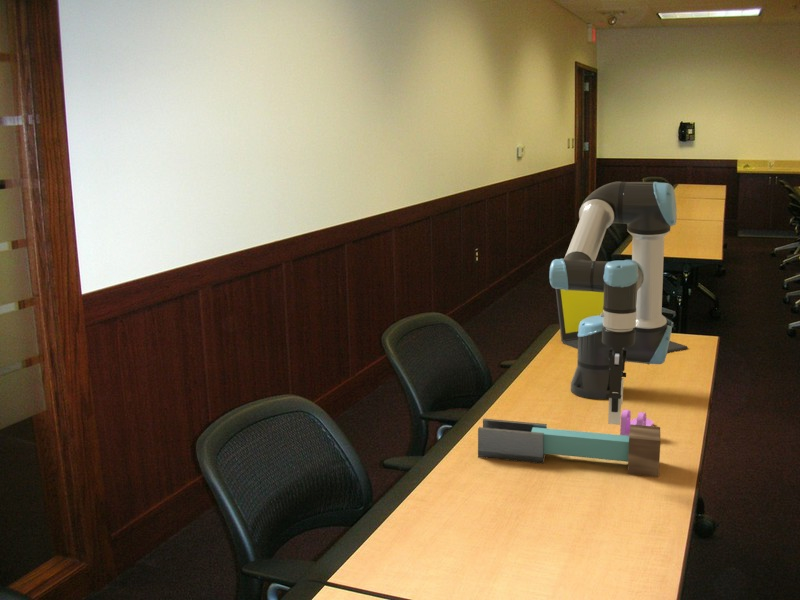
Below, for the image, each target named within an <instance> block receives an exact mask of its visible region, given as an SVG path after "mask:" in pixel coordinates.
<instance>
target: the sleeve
mask: <svg viewBox="0 0 800 600" xmlns="http://www.w3.org/2000/svg"><path fill="white" fill-rule="evenodd" d="M533 427H536V428H547V429H548V424H547V423H539V422H538V423H537V422H530V421H529V422H528V421H514V420H505V419H504V420H503V419H493V418H483V420H482V427H481V426H479V427H478V429H477V458H480V459H494V460H503V461H512V462H522V463H530V464H539V465H540V464H542V465H543V463H544V460H545V458H546V455H547V454H544V453H543V450H544V433H537V432H531V431H532V428H533Z"/></svg>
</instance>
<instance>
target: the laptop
mask: <svg viewBox="0 0 800 600" xmlns="http://www.w3.org/2000/svg"><path fill="white" fill-rule="evenodd" d="M555 294H556V295H555V297H556V304H557V313H558V322H559V331H560V337H561V338H560V339H561V343H562V345H563V344H564V345H566V346H568V347H572V348H574V349H577V350H578V330H579V323H580V322H581V321H582V320H583V319H585V318H588V317H592V316H598V315H600V314H601V313H603V303H604V292H593V291H575V290H563V289H555ZM688 347H689V346H687V345H685V344H681V343H678V342H674V341H671V340H670V341H669V346H668V351H667V354H670V352H671V353H675V352H674V351H676V352H681V351H686V350H688ZM685 349H686V350H685ZM680 350H681V351H680Z"/></svg>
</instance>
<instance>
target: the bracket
mask: <svg viewBox="0 0 800 600" xmlns="http://www.w3.org/2000/svg"><path fill="white" fill-rule="evenodd" d="M631 415H632V414H631V410H630V409H624V408H623V410H621V419H620V431H619V432H620V434H619V435H625V436H629V434H630V424H631V425H643V426H654V420H652V419H650V418H647V413H646V412H641V411H639V412H638V414H637V417H635V418H633V419H631Z"/></svg>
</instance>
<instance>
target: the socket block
mask: <svg viewBox="0 0 800 600" xmlns="http://www.w3.org/2000/svg"><path fill="white" fill-rule="evenodd" d="M660 457H661V427H660V426H654V425H653V426H643V425H631V424H630V434H629V453H628V462H627V475H636V476H643V477H644V476H645V477H653V478H659V477H660V476H659V475H660Z"/></svg>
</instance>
